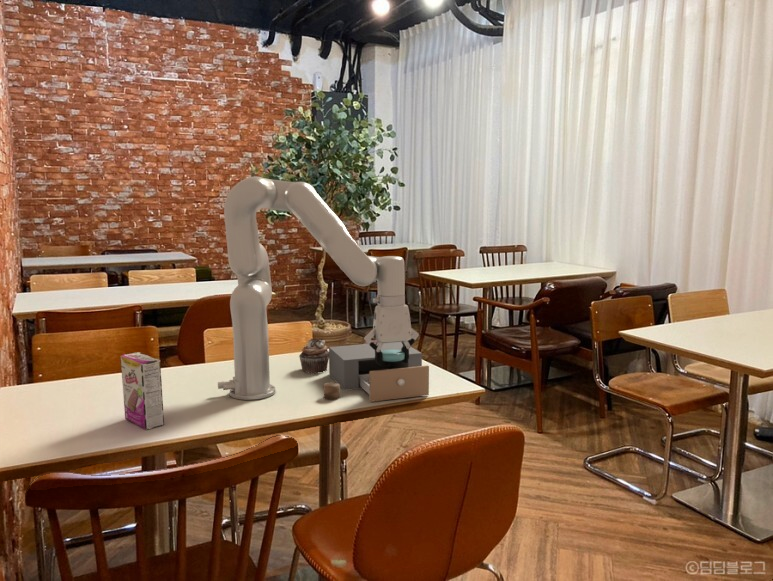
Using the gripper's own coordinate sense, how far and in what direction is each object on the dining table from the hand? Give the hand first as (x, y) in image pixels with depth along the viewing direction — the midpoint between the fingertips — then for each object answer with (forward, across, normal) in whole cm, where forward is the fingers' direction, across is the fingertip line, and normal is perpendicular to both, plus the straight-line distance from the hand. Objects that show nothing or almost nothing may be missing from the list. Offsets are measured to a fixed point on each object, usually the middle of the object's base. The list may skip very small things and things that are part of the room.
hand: (392, 362), depth 170 cm
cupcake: (+8, -15, +30) cm, 35 cm away
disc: (-1, 0, 0) cm, 1 cm away
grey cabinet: (+8, 0, +14) cm, 16 cm away
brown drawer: (+8, 0, +1) cm, 8 cm away
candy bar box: (+8, -65, -2) cm, 66 cm away
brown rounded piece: (+8, -17, +1) cm, 19 cm away
